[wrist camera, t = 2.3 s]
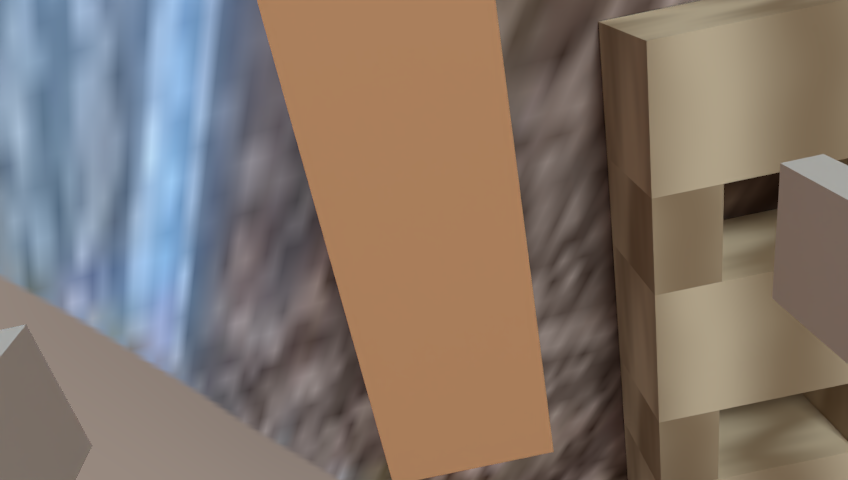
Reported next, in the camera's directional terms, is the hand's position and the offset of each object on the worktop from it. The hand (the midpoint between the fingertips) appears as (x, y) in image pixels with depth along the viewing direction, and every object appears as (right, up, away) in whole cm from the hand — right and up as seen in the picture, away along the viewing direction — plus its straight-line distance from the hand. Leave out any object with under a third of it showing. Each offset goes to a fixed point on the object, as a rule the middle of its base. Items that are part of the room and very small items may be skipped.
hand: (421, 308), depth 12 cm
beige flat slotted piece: (+13, 0, +15) cm, 19 cm away
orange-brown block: (-1, +5, +11) cm, 12 cm away
